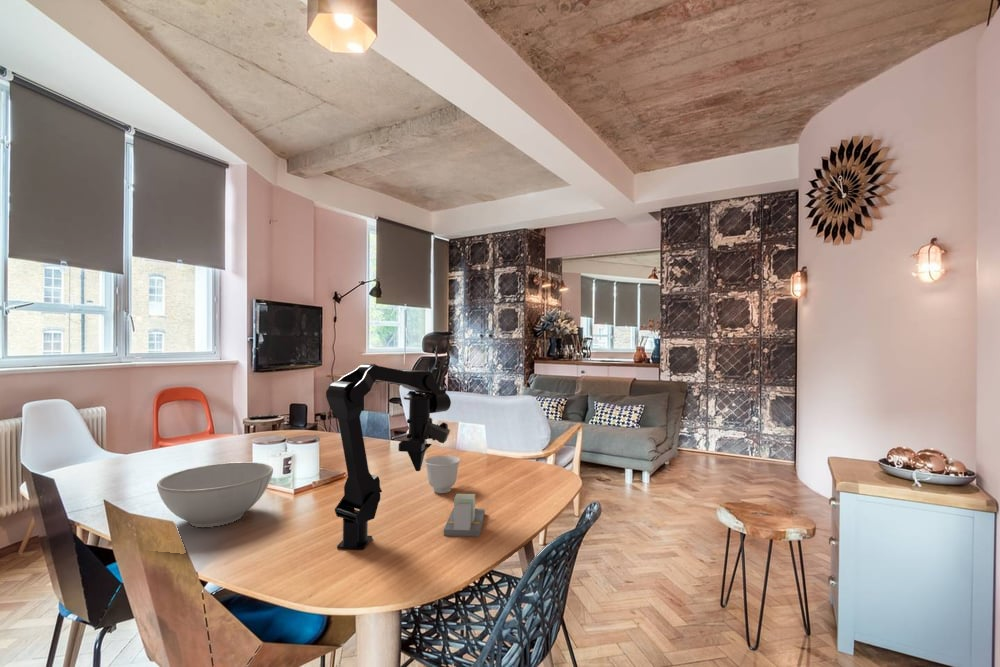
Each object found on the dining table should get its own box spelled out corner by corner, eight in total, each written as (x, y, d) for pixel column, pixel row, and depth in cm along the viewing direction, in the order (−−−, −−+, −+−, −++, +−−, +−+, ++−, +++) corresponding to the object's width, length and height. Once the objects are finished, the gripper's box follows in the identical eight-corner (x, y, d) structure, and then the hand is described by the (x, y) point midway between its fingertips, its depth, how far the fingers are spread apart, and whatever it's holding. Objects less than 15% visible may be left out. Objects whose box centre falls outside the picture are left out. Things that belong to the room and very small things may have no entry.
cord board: (479, 536, 112) (479, 508, 112) (443, 535, 112) (444, 507, 113) (484, 514, 127) (484, 489, 127) (453, 513, 127) (453, 488, 128)
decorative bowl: (292, 512, 127) (293, 470, 127) (187, 549, 104) (189, 497, 104) (239, 496, 141) (240, 457, 141) (136, 525, 117) (137, 479, 118)
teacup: (468, 484, 154) (468, 455, 154) (452, 498, 140) (452, 466, 140) (436, 481, 157) (436, 452, 158) (417, 494, 143) (417, 463, 143)
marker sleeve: (473, 522, 116) (473, 499, 116) (454, 522, 116) (454, 498, 116) (474, 516, 120) (475, 494, 120) (456, 516, 120) (456, 493, 120)
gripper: (440, 420, 116) (439, 481, 115) (453, 411, 135) (452, 463, 134) (398, 419, 117) (397, 479, 116) (417, 410, 136) (416, 462, 135)
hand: (418, 470), depth 125 cm, fingers closed
